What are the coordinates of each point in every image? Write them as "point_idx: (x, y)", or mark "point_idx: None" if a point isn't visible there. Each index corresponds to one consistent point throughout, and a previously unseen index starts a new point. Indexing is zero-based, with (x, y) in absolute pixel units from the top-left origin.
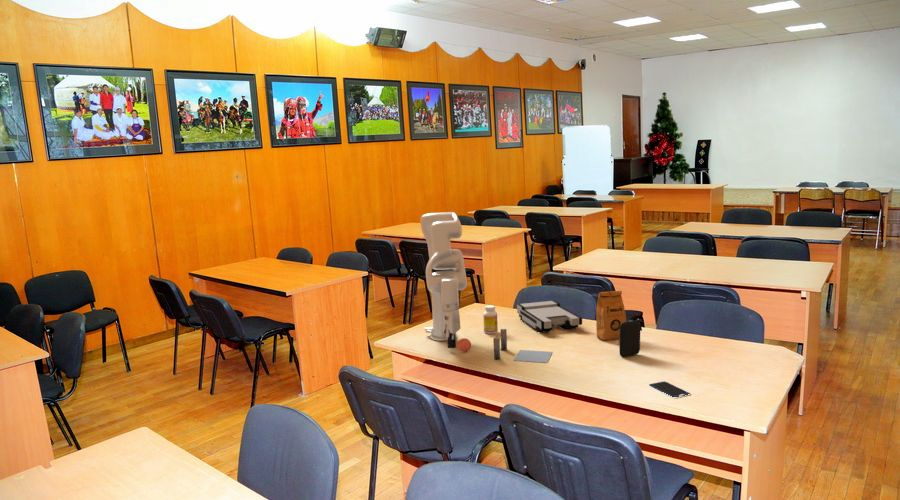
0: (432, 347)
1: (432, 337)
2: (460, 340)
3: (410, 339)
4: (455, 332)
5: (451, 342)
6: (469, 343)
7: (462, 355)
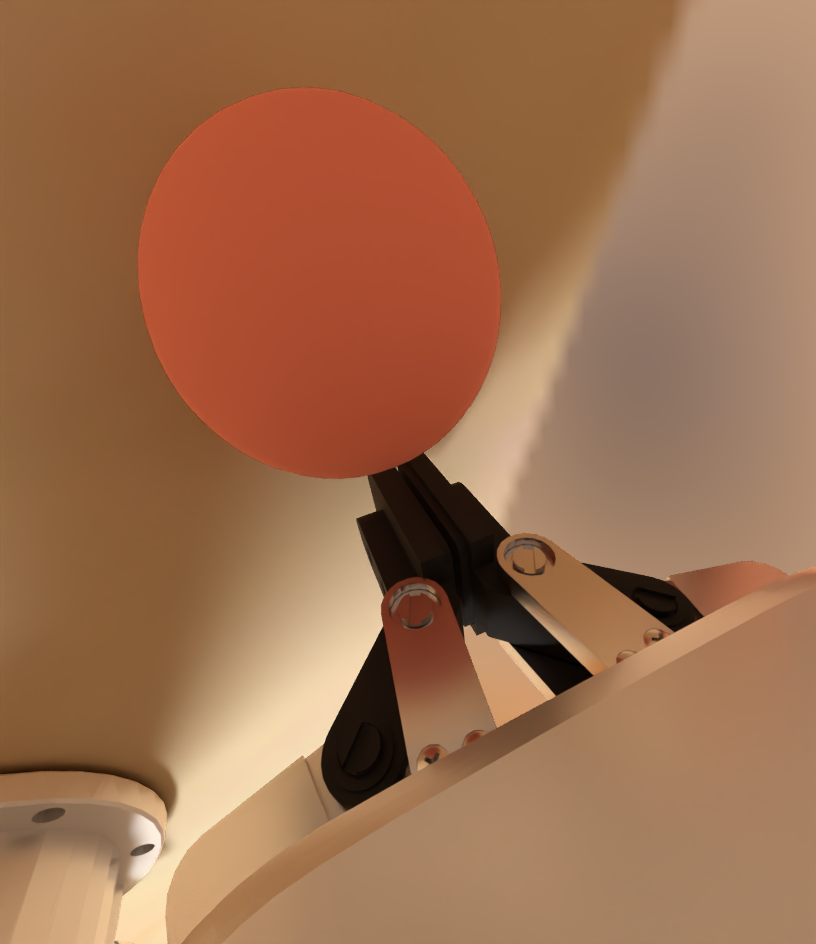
0: (354, 673)
1: (160, 851)
2: (459, 409)
3: None
4: (790, 609)
5: (493, 524)
6: (363, 101)
7: None
